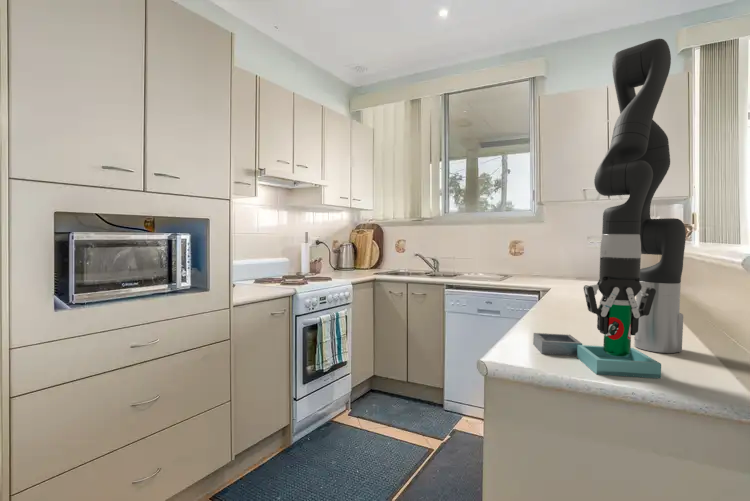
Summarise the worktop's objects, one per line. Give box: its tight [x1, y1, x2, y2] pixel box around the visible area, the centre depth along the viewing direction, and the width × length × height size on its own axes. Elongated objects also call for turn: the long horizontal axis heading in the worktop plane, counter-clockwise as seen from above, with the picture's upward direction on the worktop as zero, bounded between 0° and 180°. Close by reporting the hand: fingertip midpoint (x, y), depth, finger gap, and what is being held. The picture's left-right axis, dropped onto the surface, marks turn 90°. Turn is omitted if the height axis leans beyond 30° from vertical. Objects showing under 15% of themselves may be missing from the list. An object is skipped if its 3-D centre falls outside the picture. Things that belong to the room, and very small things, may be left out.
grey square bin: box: [532, 332, 583, 357], centre depth 102 cm, size 9×9×3 cm
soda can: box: [603, 299, 632, 357], centre depth 89 cm, size 5×5×12 cm
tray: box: [576, 344, 662, 379], centre depth 89 cm, size 12×12×3 cm
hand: (617, 333), depth 89 cm, fingers closed on soda can, 5 cm apart
